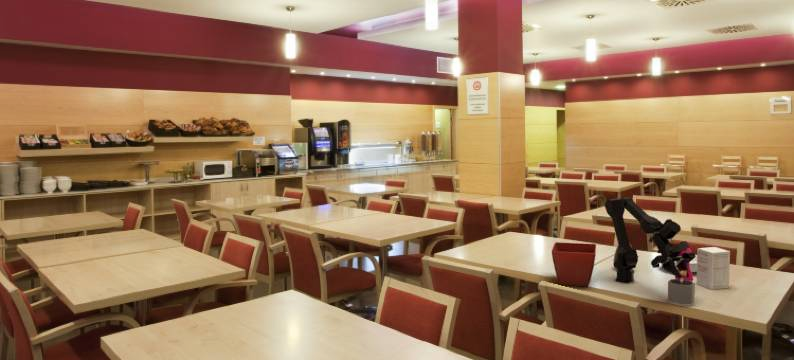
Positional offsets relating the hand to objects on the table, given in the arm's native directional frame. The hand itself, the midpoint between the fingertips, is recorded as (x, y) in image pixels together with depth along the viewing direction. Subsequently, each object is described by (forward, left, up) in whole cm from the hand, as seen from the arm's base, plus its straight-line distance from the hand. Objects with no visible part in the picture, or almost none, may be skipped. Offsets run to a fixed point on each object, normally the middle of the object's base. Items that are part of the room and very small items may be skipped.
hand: (684, 277), depth 217 cm
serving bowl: (-15, +51, -11) cm, 54 cm away
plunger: (-1, +1, -5) cm, 6 cm away
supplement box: (+3, +33, -11) cm, 35 cm away
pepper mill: (-6, +23, -11) cm, 26 cm away
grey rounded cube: (-1, +1, -11) cm, 11 cm away
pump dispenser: (-37, +35, -11) cm, 52 cm away
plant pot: (-47, 0, -11) cm, 48 cm away
